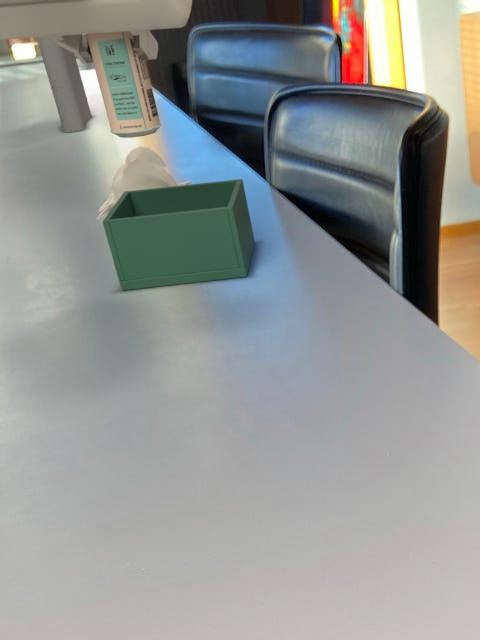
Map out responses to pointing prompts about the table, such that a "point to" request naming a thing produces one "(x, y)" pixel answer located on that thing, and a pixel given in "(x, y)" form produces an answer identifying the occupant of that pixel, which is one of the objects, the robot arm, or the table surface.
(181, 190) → the green storage bin
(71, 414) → the table surface
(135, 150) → the elephant figurine
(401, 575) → the table surface
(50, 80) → the gray upright slab
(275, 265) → the table surface
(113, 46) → the teal-label supplement bottle
